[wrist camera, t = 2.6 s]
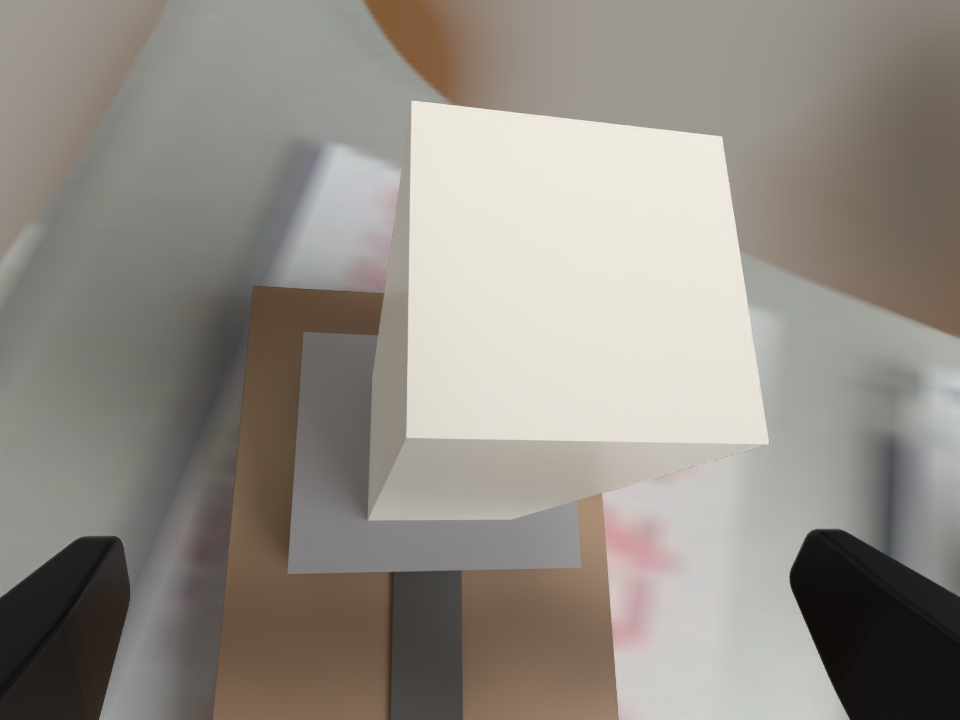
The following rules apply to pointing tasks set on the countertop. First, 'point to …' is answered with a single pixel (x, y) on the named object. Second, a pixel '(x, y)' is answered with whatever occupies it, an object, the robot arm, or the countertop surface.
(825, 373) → the countertop surface
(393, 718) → the brown slider track board
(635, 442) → the fader tab
